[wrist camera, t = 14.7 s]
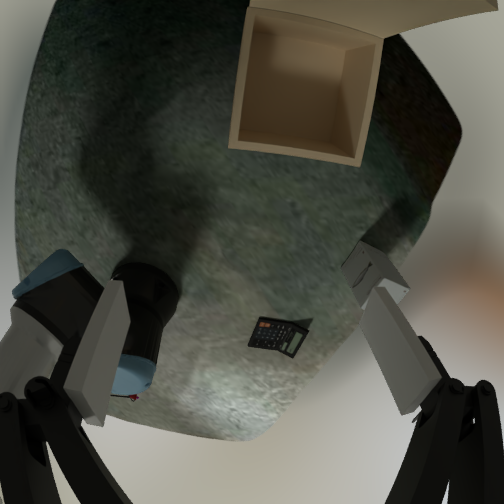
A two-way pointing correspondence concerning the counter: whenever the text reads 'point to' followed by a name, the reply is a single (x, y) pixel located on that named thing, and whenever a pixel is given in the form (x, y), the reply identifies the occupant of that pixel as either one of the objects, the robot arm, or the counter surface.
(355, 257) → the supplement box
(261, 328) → the calculator
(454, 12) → the flap
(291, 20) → the carton
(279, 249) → the counter surface
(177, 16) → the counter surface
